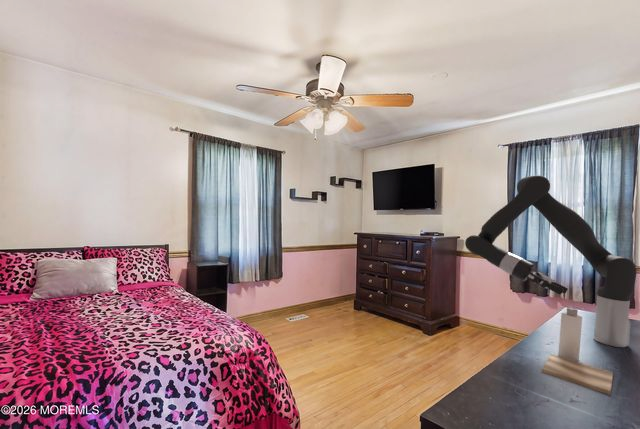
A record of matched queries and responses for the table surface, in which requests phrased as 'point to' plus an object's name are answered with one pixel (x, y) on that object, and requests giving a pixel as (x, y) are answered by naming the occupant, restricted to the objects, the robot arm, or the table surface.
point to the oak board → (579, 373)
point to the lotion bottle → (570, 335)
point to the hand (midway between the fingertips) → (564, 291)
